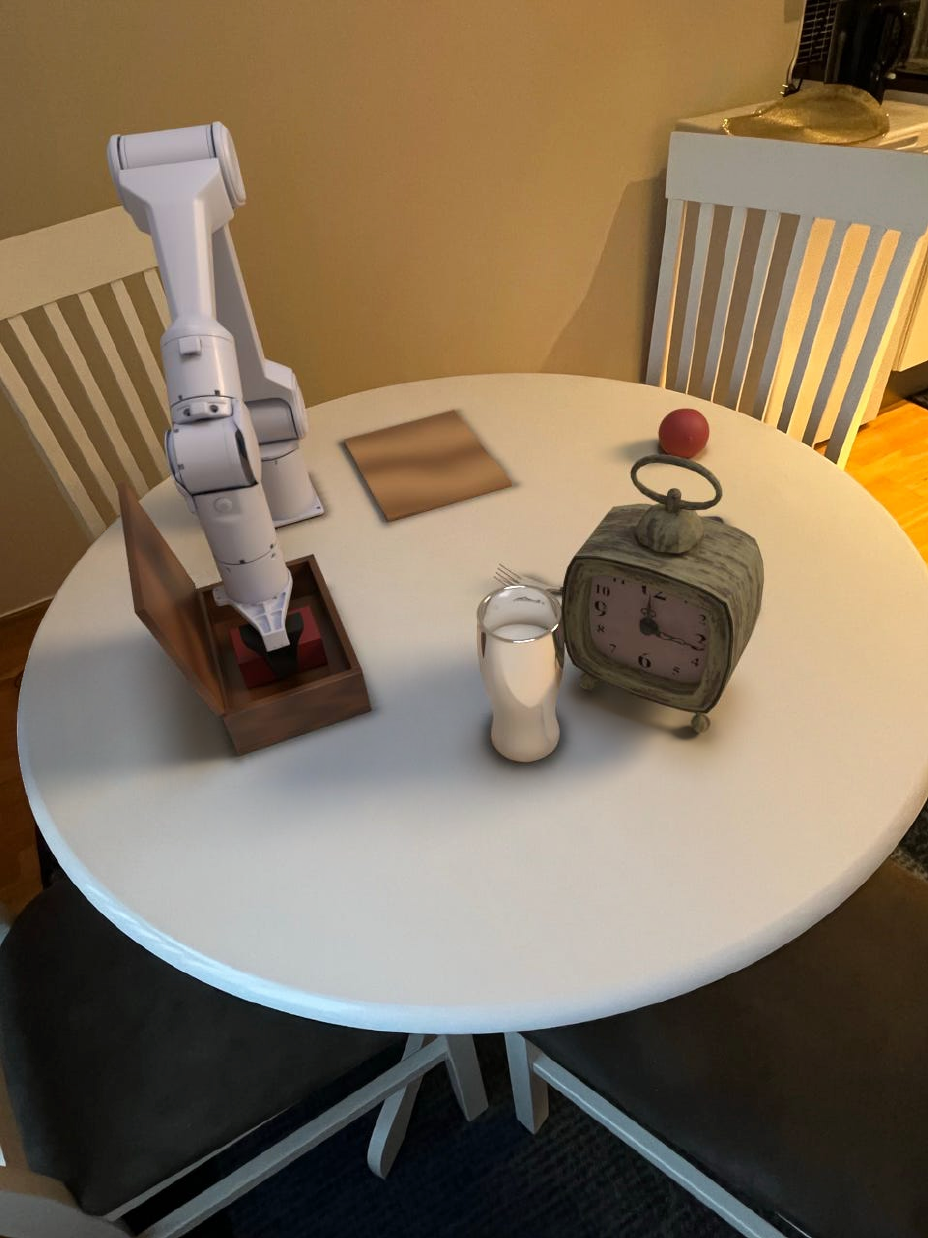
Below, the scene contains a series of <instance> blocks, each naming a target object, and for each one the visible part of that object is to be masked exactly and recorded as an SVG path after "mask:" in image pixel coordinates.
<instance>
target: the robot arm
mask: <svg viewBox="0 0 928 1238" xmlns="http://www.w3.org/2000/svg"><path fill="white" fill-rule="evenodd" d="M106 158H107V165H108V169H109V170H108V171H109V173H110V178H111V181H112V185H113V188H114V191H115V194H116V196H117V198H118V201H119V203H120V205H121V206H122V208H123V210H124V211H125V212H126V213H127V214H128V215H130V217H131V219H132V221H133V222H134V224H135V226H136V227H137V230H138V231H139V232H142V233H144V234H145V235H148V236H150V237H151V241H152V246H153V249H154V253H155V257H156V262H157V266H158V270H159V274H160V278H161V279H160V280H161V282H162V288H163V292H164V295H165V299H166V303H167V308H168V312H169V316H170V320H171V323H170V325H169V327H168V328H167V329H166V331H165V332H163V334H162V335H161V337H160V339H159V346H160V347H159V348H160V353H161V360H162V367H163V373H164V380H165V387H166V394H167V402H168V408H169V415H170V421H171V426H172V429H170V428H169V429H167V430H166V431H165V433H164V450H165V457H166V463H167V466H168V470H169V472H170V475H171V479H172V481H173V483H174V486H175V488H176V490H177V492H178V493H179V495H181V496H182V497H183V499H184V500H185V502H186V504H187V508H188V510H189V512H190V513H191V514H192V515H196V516H197V519H198V520H199V523H200V526H201V528H202V530H203V533H204V536H205V539H206V541H207V544H208V547H209V549H210V552H211V555H212V558H213V561H214V563H215V566H216V569H217V571H218V574H219V577H220V579H221V581H222V582H223V585H221V586H219V587H216V588H214V589H213V596H214V600H215V602H216V604H217V605H218V606H223V605H227V604H229V605H231V606H232V607H233V608H234V609H236V610H237V611H238V612H239V613H240V614H241V615H242V616H243V617H244V618H245V619H246V620H247V621H248V622H249V623H248V624H245V625H242V626H239V627H238V629H239V632H240V636H241V639H242V641H243V643H244V644H245V646H246V647H247V648H249V649H251V650H253V651H255V652H256V653H258V654H259V655H260V656H261V657H262V658H263V659H264V661H265V662H266V663H267V665H268V666H269V668H270V669H271V670H272V672H273V673H274V674H275V675H276V676H277V677H281V676H284V675H287V674H290V673H294V672H297V671H298V643H299V639H300V636H301V634H302V632H303V631H304V621H303V618H302V615H301V612H297V613H294V614H290V615H287V616H286V614H287V609H288V604H289V599H290V594H291V589H292V577H291V574H290V571H289V569H288V568H287V567H286V565H285V562H286V561H285V558H284V554H283V552H282V548H281V545H280V541H279V538H278V535H277V531H276V529H275V528H279V527H282V526H286V525H290V524H293V523H297V522H301V521H303V520H307V519H310V518H313V517H317V516H321V515H323V514H324V513H325V510H324V508H323V505H322V503H321V501H320V498H319V496H318V495H317V493H316V490H315V488H314V485H313V483H312V481H311V479H310V475H309V472H308V471H309V470H308V467H307V464H306V459H305V456H304V452H303V447H302V444H301V440H305V439H306V437H307V435H308V434H309V423H308V416H307V410H306V406H305V401H304V397H303V392H302V390H301V387H299V384H298V380H297V377H296V374H295V373H293V370H292V368H290V367H288V366H286V365H283V364H281V363H278V362H276V361H273V360H270V359H267V358H265V355H264V350H263V347H262V344H261V339H260V336H259V331H258V328H257V325H256V322H255V318H254V315H253V314H254V313H253V310H252V306H251V303H250V300H249V295H248V292H247V288H246V285H245V281H244V278H243V274H242V270H241V268H240V267H241V266H240V263H239V259H238V256H237V252H236V249H235V244H234V241H233V237H232V234H231V231H230V227H229V226H230V225H229V222H230V221H231V220H233V219H234V217H235V213H234V211H235V210H237V209H239V208H242V207H244V206H246V200H247V195H246V189H245V186H244V181H243V177H242V172H241V169H240V164H239V160H238V155H237V152H236V148H235V143H234V141H233V138H232V135H231V132H230V130H229V128H228V127H226V125H224V124H223V123H222V122H221V121H213V122H212V123H211V124H203V125H202V124H201V125H193V126H187V127H179V128H172V129H164V130H157V131H149V132H140V133H134V134H126V135H121V134H120V133H118V134H112V135H111V136H110V138H109V141H108V143H107V146H106Z"/></svg>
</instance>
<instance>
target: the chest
mask: <svg viewBox="0 0 928 1238" xmlns="http://www.w3.org/2000/svg"><path fill="white" fill-rule="evenodd" d="M285 565H286V567H287V568H288V569H289V571H290V574H291V577H292V589H291V594H290V599H289V604H288V609H287V612H289V611H293V610H296V609H299V608H302V607H305V606H309V607H310V610H311V612H312V615H313V617H314V620H315V623H316V625H317V628H318V631H319V633H320V636H321V639H322V642H323V646H324V650H325V653H326V657H327V660H328V662H327V663H324V664H321V665H318V666H315V667H312V668H309V669H306V670H303V671H300V672H297V673H294V674H291V675H288V676H285V677H282V678H279V679H275V680H272V681H269V682H266V683H263V684H260V685H257V686H254V687H251V688H247V686H246V684H245V681H244V679H243V676H242V673H241V671H240V668H239V666H238V663H237V659H236V655H235V651H234V648H233V644H232V640H231V636H230V632H229V630H232V629H235V628H238V627H239V626H242V625H245V624H248V623H249V622H248V621H247V620H246V619H245V618H244V617H243V616H242V615H241V614H240V613H239V612H238V611H237V610H236V609H234V608H233V607H232V606H231V605H229V604H227V605H223V606H218V605H217V604H216V602H215V600H214V596H213V589H214V588H216V587H219V586H221V585H223V582H222V580H221V581H217V582H213V583H211V584H207V585H204V586H201V587H196V590H197V594H198V598H199V603H200V607H201V611H202V616H203V620H204V624H205V628H206V633H207V637H208V641H209V646H210V650H211V654H212V659H213V663H214V667H215V672H216V676H217V680H218V685H219V689H220V693H221V698H222V702H223V706H224V711H225V713H224V714H221V718H222V720H223V723H224V725H225V727H226V730H227V732H228V735H229V736H230V739H231V741H232V744H233V746H234V748H235V750H236V752H237V755H238V757H240V756H243V755H246V754H248V753H252V752H255V751H257V750H260V749H263V748H266V747H270V746H272V745H275V744H278V743H280V742H283V741H287V740H289V739H292V738H295V737H298V736H300V735H304V734H307V733H310V732H313V731H315V730H319V729H321V728H324V727H327V726H329V725H330V726H331V725H332V724H336V723H339V722H341V721H345V720H348V719H350V718H353V717H356V716H359V715H362V714H365V713H367V712H370V711H372V710H373V708H372V704H371V700H370V696H369V692H368V688H367V684H366V680H365V675H364V671H363V669H362V667H361V664H360V662H359V659H358V657H357V655H356V653H355V650H354V647H353V645H352V643H351V640H350V638H349V635H348V632H347V631H346V628H345V626H344V623H343V621H342V619H341V616H340V614H339V611H338V609H337V607H336V604H335V602H334V599H333V597H332V595H331V594H332V593H331V592H330V590H329V587H328V585H327V583H326V580H325V578H324V575H323V573H322V570H321V569H320V566H319V563H318V561H317V558H316V556H315V554H314V553H311V554H309V555H305V556H301V557H298V558H295V559H292V560H288V561H285Z"/></svg>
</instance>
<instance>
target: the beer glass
mask: <svg viewBox="0 0 928 1238" xmlns="http://www.w3.org/2000/svg"><path fill="white" fill-rule="evenodd" d="M517 584H518V585H513V584H509V585H510V586H506V585H505V586H501V587H499V588H497V589H495V590H493V591H491V592H490V593H488V594H487V595H486V596H485V597H484V598H483V599H482V600H481V601H480V602H479V605H478V606H477V609H476V648H477V649H476V650H477V659H478V666H479V671H480V674H481V677H482V682H483V684H484V687H485V690H486V693H487V695H488V698H489V700H490V701H489V702H490V703H491V707H492V711H493V712H492V713H493V717H492V723H491V727H490V728H491V729H490V739H491V743H492V745H493V747H494V748H495V750H496V751H497V752H498V753H499V755H501V756H503V757H504V758H506V759H508V760H510V761H513V762H518V763H532V762H536V761H539V760H542V759H544V758H546V757H547V756H549V755H550V754H551V753H553V751H554V750H555V749H556V748H557V745H558V744H559V742H560V737H561V736H560V735H561V734H560V731H561V730H560V726H559V722H558V719H557V716H556V702H557V698H558V694H559V691H560V686H561V683H562V678H563V673H564V668H565V655H566V646H565V641H564V629H563V621H562V608H561V603H560V601H559V599H558V598H557V597H556V596H555V595H554V594H552V592H551V591H549V590H545V589H542V588H540V587H537V586H532V585H524V584H519V583H517Z"/></svg>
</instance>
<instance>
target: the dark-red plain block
mask: <svg viewBox="0 0 928 1238" xmlns="http://www.w3.org/2000/svg"><path fill="white" fill-rule="evenodd" d="M297 612H301V615H302V618H303V621H304V631H303V632H302V634H301V636H300V639H299V643H298V671H297V672H300V671H303V670H306V669H309V668H312V667H315V666H318V665H321V664H324V663H327V662H328V660H327V657H326V653H325V650H324V646H323V642H322V639H321V636H320V633H319V631H318V628H317V625H316V623H315V620H314V617H313V615H312V612H311V610H310V607H309V606H305V607H302V608H299V609H296V610H293V611H289V612H287V614H286V616H287V615H290V614H294V613H297ZM229 632H230V636H231V640H232V644H233V648H234V651H235V655H236V659H237V663H238V666H239V668H240V671H241V673H242V676H243V679H244V681H245V684H246V686H247V688H251V687H254V686H257V685H260V684H263V683H266V682H269V681H272V680H275V679H279V678H282V677H285V676H288V675H291V674H294V673H297V672H294V673H290V674H287V675H284V676H281V677H277V676H276V675H275V674H274V673H273V672H272V670H271V669H270V668H269V666H268V665H267V663H266V662H265V661H264V659H263V658H262V657H261V656H260V655H259V654H258V653H256V652H255V651H253V650H251V649H249V648H247V647H246V646H245V644H244V643H243V641H242V639H241V636H240V632H239V629H238V628H235V629H232V630H229Z"/></svg>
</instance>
